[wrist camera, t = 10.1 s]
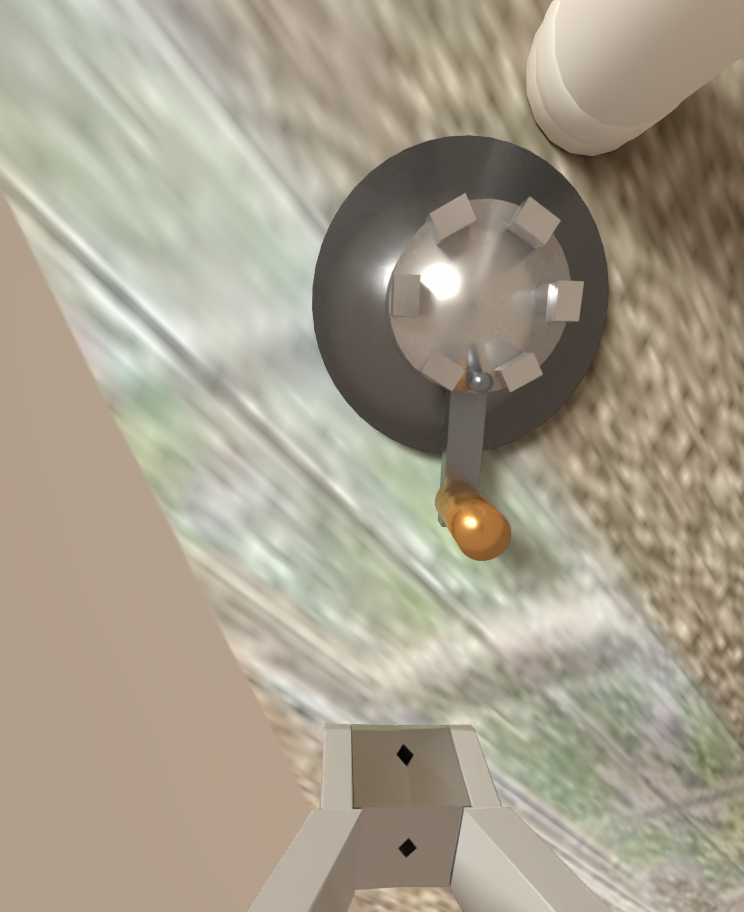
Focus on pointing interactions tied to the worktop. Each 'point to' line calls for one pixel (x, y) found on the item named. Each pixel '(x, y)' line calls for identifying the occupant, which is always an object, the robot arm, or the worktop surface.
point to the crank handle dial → (478, 333)
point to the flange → (376, 253)
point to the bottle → (625, 65)
